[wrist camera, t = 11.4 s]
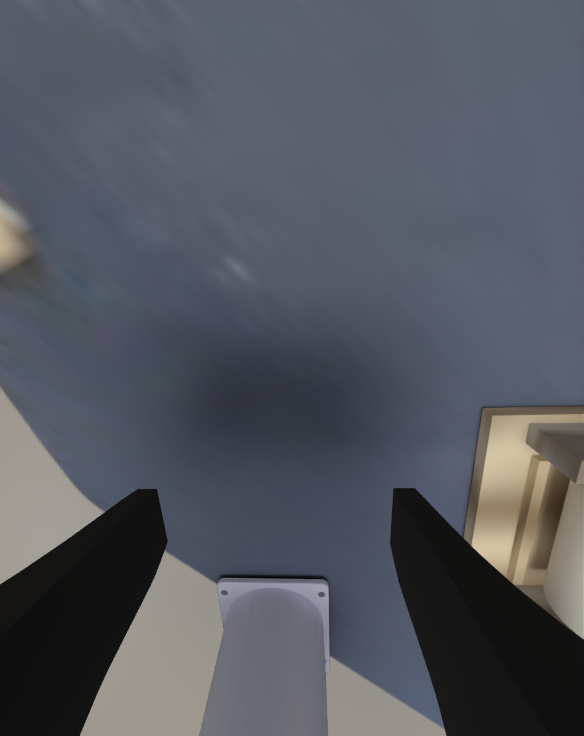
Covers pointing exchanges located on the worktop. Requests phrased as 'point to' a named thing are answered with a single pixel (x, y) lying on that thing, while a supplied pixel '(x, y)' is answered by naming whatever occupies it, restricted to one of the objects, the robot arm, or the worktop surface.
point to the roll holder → (523, 489)
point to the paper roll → (568, 563)
